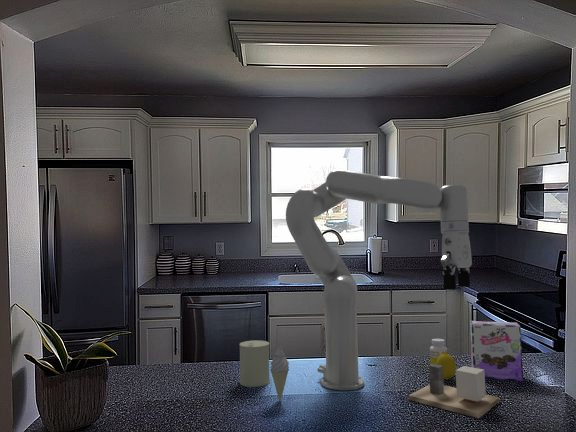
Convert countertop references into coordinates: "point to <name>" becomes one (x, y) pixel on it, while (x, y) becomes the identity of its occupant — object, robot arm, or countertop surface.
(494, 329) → the candy box
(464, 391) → the white rectangular block
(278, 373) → the ice cream cone
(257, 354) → the can
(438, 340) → the supplement bottle
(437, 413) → the countertop surface
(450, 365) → the lemon
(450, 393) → the stand
